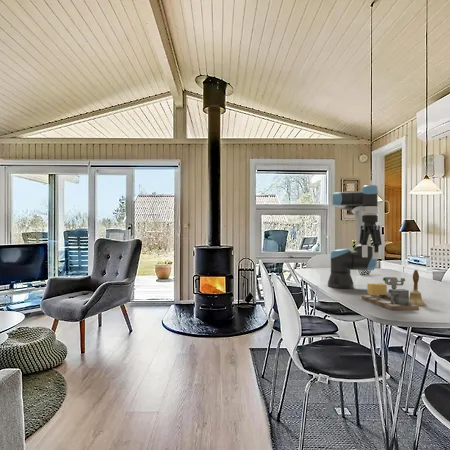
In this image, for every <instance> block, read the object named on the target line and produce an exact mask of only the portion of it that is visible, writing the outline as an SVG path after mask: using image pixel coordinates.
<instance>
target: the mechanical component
mask: <svg viewBox="0 0 450 450" xmlns="http://www.w3.org/2000/svg"><path fill="white" fill-rule="evenodd" d="M382 281H383V282H384V284H386V285H387V286H391V288H390V289H398V287H397V286H403V285H404V282H406V279H405V277H404V278H403V277H400V280H399V279H398V277H392V276H388V277H387V276H384V277H383V278H382ZM393 297H394V294H393Z"/></svg>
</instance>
